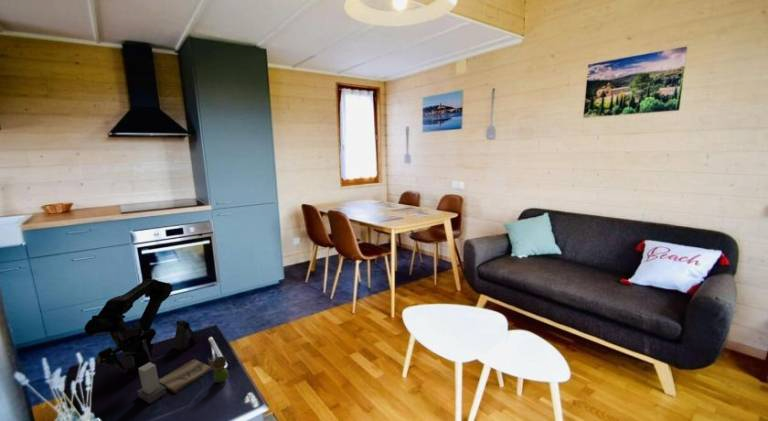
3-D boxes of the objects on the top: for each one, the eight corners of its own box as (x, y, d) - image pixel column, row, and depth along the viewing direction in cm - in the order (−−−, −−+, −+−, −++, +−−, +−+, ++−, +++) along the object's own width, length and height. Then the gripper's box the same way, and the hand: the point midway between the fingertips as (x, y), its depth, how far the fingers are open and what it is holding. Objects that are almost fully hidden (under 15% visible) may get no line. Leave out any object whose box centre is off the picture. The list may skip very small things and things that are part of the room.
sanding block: (138, 396, 129) (132, 368, 126) (155, 386, 134) (149, 359, 131) (149, 403, 125) (143, 374, 122) (166, 393, 130) (161, 365, 127)
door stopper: (180, 351, 156) (175, 327, 153) (173, 347, 159) (168, 324, 157) (199, 341, 163) (195, 318, 161) (192, 338, 167) (188, 315, 164)
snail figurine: (209, 382, 134) (204, 355, 132) (225, 374, 139) (221, 347, 137) (214, 389, 131) (210, 361, 128) (231, 380, 135) (227, 353, 133)
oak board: (158, 383, 136) (157, 380, 135) (194, 361, 148) (194, 358, 148) (175, 393, 130) (174, 390, 129) (211, 369, 142) (211, 366, 142)
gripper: (92, 332, 121) (113, 369, 118) (149, 309, 137) (169, 341, 133) (87, 346, 127) (107, 382, 123) (143, 322, 142) (162, 353, 139)
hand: (138, 363), depth 130 cm, fingers open, 9 cm apart
